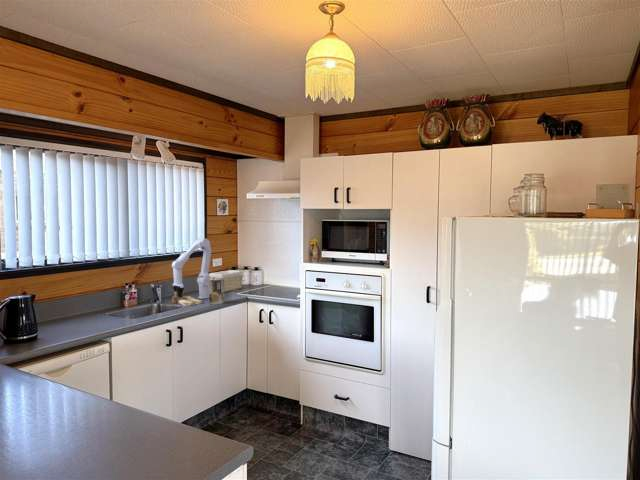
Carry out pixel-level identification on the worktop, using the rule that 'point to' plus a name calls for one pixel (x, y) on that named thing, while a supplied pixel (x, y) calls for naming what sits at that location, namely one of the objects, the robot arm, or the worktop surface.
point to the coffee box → (216, 291)
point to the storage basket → (229, 279)
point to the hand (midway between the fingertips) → (178, 296)
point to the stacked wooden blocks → (175, 297)
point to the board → (189, 301)
